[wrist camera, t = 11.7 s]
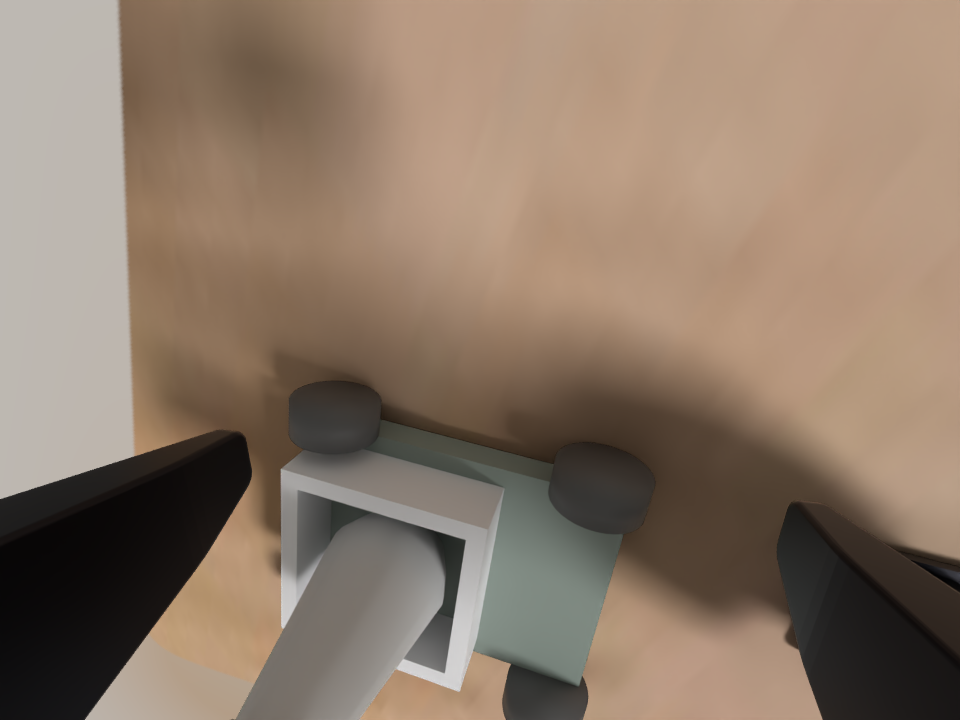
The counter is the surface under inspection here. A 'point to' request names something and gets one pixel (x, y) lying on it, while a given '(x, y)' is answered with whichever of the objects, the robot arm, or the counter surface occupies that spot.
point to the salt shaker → (352, 622)
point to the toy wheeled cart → (470, 538)
